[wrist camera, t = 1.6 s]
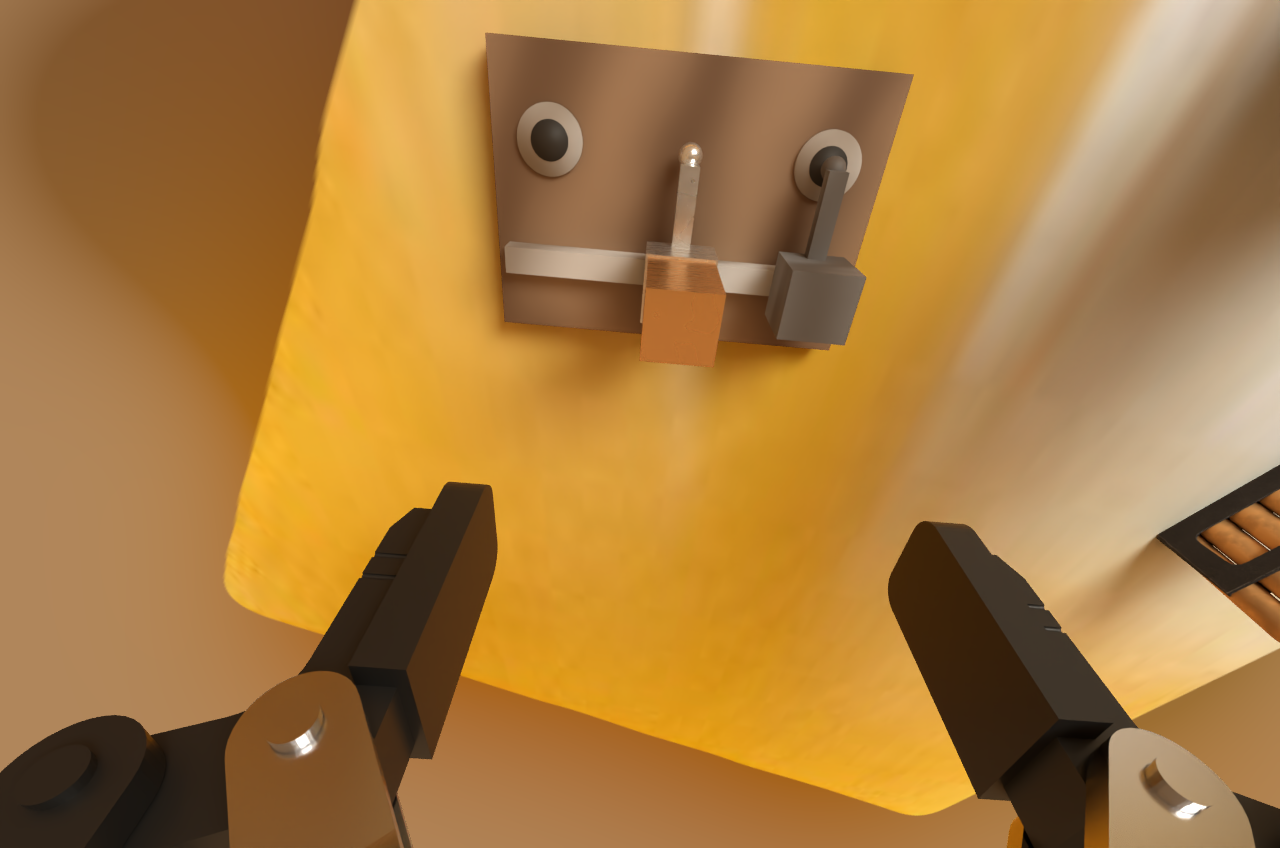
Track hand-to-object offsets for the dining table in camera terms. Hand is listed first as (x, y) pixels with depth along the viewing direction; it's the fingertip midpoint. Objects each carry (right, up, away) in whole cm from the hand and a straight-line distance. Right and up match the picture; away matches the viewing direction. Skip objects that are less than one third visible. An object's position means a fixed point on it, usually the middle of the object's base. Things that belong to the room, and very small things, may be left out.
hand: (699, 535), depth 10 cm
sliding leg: (+1, +11, +14) cm, 18 cm away
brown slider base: (+1, +13, +15) cm, 20 cm away
